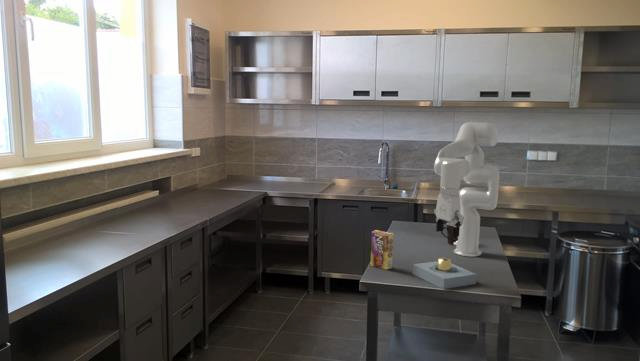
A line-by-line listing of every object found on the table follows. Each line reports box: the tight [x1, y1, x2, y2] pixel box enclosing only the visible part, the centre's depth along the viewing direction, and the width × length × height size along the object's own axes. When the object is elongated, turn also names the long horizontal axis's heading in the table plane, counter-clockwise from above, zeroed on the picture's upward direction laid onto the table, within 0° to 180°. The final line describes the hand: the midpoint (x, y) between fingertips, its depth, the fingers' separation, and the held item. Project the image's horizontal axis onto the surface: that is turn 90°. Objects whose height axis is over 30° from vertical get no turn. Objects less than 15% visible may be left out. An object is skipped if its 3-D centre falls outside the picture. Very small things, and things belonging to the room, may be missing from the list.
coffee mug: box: [440, 222, 458, 246], centre depth 269 cm, size 12×9×10 cm
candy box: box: [370, 229, 395, 270], centre depth 226 cm, size 9×4×15 cm, turn 47°
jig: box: [412, 260, 478, 290], centre depth 213 cm, size 20×16×4 cm
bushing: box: [437, 257, 452, 272], centre depth 212 cm, size 5×5×8 cm
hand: (447, 233), depth 211 cm, fingers open, 9 cm apart
